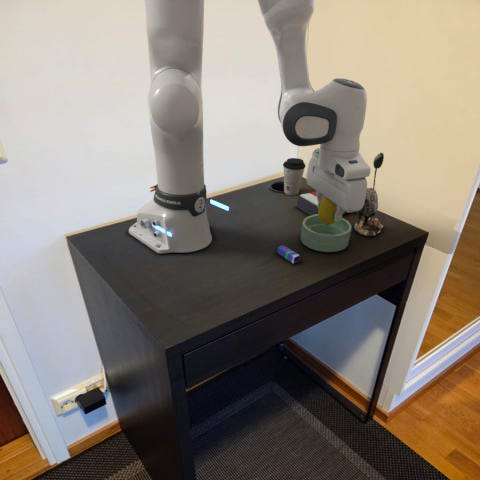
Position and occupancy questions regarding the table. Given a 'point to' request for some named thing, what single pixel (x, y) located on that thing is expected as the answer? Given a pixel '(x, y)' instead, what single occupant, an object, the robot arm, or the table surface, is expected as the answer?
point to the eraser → (288, 254)
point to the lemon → (327, 211)
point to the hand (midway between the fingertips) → (329, 214)
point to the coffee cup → (293, 175)
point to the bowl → (325, 234)
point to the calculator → (309, 203)
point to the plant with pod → (370, 207)
